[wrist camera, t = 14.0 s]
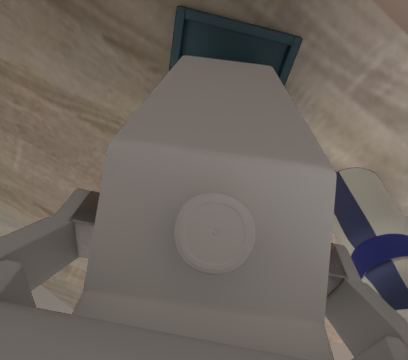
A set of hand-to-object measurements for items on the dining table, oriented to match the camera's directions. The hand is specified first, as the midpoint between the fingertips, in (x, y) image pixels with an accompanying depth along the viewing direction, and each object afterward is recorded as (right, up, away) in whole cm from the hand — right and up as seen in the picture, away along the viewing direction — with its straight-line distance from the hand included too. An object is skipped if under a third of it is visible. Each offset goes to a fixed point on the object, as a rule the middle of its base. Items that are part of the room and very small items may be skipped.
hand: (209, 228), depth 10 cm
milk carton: (+1, +9, +12) cm, 15 cm away
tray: (+2, +12, +17) cm, 21 cm away
